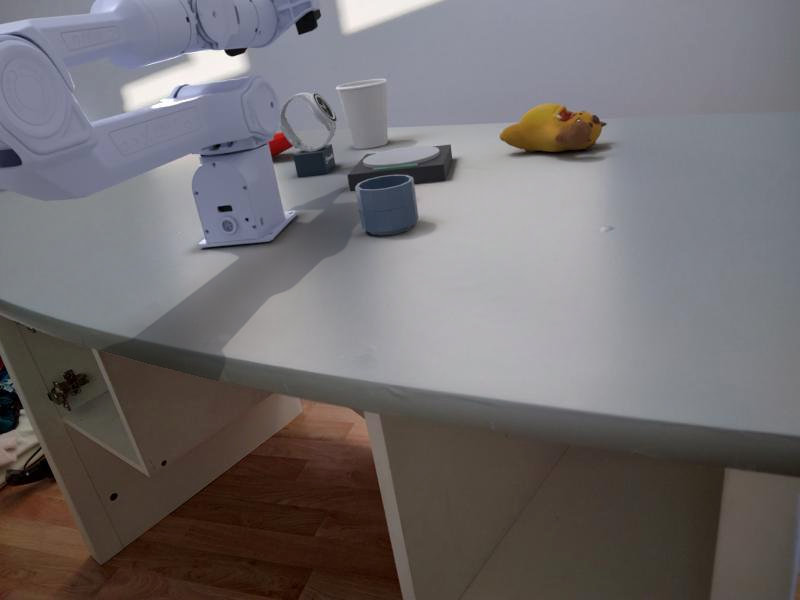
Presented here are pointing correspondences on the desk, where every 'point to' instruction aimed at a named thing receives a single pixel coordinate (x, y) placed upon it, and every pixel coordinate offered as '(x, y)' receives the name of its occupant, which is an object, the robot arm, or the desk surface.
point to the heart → (279, 144)
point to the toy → (553, 129)
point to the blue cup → (387, 204)
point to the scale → (404, 164)
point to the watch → (312, 157)
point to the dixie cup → (365, 112)
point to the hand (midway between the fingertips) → (288, 17)
